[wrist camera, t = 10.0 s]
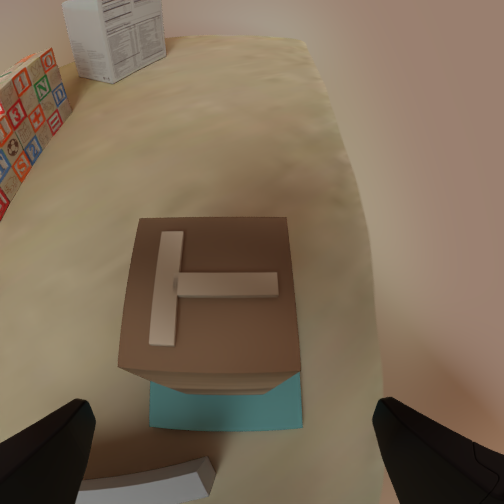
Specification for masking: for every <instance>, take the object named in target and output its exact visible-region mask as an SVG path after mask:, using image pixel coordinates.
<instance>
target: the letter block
mask: <svg viewBox="0 0 504 504" xmlns="http://www.w3.org/2000/svg"><path fill="white" fill-rule="evenodd" d="M118 367H119V368H121V369H123V370H126V371H128V372H130V373H133V374H135V375H137V376H140V377H142V378H145V379H147V380H150V381H152V382H155V383H157V384H160V385H162V386H165V387H168V388H171V389H173V390H176V391H179V392H182V393H185V394H194V395H263V394H265V393H267V392H268V391H270V390H272V389H273V388H275V387H276V386H278V385H280V384H281V383H283V382H284V381H286V380H287V379H289V378H291V377H292V376H294V375H295V374H297V373H298V372H300V371H301V363H300V350H299V337H298V325H297V314H296V303H295V293H294V282H293V273H292V263H291V254H290V245H289V236H288V227H287V219H286V217H179V218H140V219H139V224H138V228H137V233H136V238H135V243H134V248H133V253H132V258H131V264H130V270H129V276H128V282H127V288H126V295H125V302H124V309H123V317H122V325H121V334H120V344H119V355H118Z"/></svg>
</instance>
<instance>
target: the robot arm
mask: <svg viewBox="0 0 504 504" xmlns="http://www.w3.org/2000/svg"><path fill="white" fill-rule="evenodd" d="M372 422H373V426H374V430H375V433H376V437H377V441H378V444H379V448H380V452H381V456H382V459H383V462H384V464H385V467H386V469H387V472H388V474H389V477H390V479H391V482H392V484H393V487H394V490H395V492H396V495H397V497H398V500H399V503H400V504H504V455H503V454H500V453H498V452H495V451H492V450H490V449H488V448H486V447H484V446H482V445H479V444H478V443H476V442H472V440H470V439H468V438H466V437H464V436H462V435H460V434H458V433H456V432H454V431H452V430H450V429H449V428H447V427H445V426H443V425H441V424H439V423H437V422H435V421H434V420H432V419H430V418H428V417H426V416H425V415H423V414H421V413H419V412H417V411H416V410H414V409H412V408H410V407H409V406H407V405H404V404H403V403H402V402H400V401H398V400H396V399H395V398H393V397H386V398H381V399H380V400H379V401H378V403H377V405H376V408H375V411H374V414H373V418H372ZM95 425H96V420H95V416H94V414H93V412H92V409H91V407H90V404H89V402H88V401H86V400H83V399H78V398H77V399H74V400H72V401H71V402H69V403H67V404H66V405H64V406H62V407H61V408H59V409H57V410H56V411H54V412H52V413H51V414H49V415H47V416H46V417H44V418H42V419H41V420H39V421H37V422H36V423H34V424H32V425H31V426H29V427H27V428H26V429H24V430H22V431H21V432H19V433H17V434H15V435H14V436H12V437H10V438H8V439H7V440H5V441H3V442H1V443H0V504H75V503H76V499H77V496H78V492H79V489H80V486H81V482H82V479H83V476H84V473H85V469H86V466H87V463H88V459H89V454H90V449H91V444H92V439H93V434H94V430H95Z"/></svg>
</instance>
